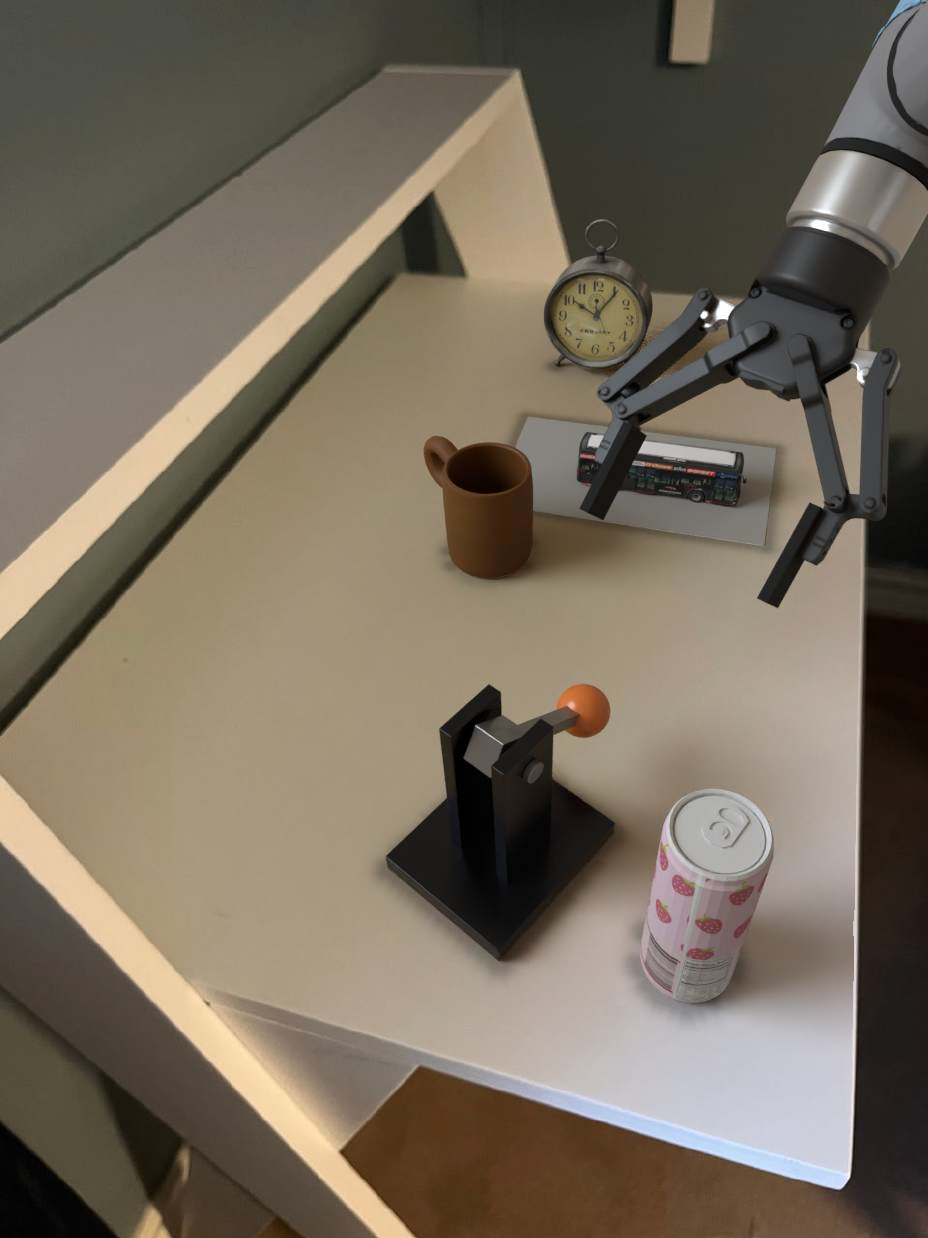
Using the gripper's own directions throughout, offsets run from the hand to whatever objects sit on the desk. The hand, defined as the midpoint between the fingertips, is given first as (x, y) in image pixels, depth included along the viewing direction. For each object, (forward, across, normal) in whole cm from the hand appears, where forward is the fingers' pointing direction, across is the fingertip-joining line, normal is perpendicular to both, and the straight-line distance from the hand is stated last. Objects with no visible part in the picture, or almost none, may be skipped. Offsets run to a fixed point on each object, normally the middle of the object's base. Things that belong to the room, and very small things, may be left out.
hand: (674, 557), depth 63 cm
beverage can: (+22, -13, +1) cm, 25 cm away
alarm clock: (-14, +32, -35) cm, 49 cm away
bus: (-5, +17, -26) cm, 31 cm away
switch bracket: (+23, 0, +2) cm, 23 cm away
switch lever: (+15, 0, +5) cm, 16 cm away
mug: (+7, +23, -14) cm, 27 cm away
